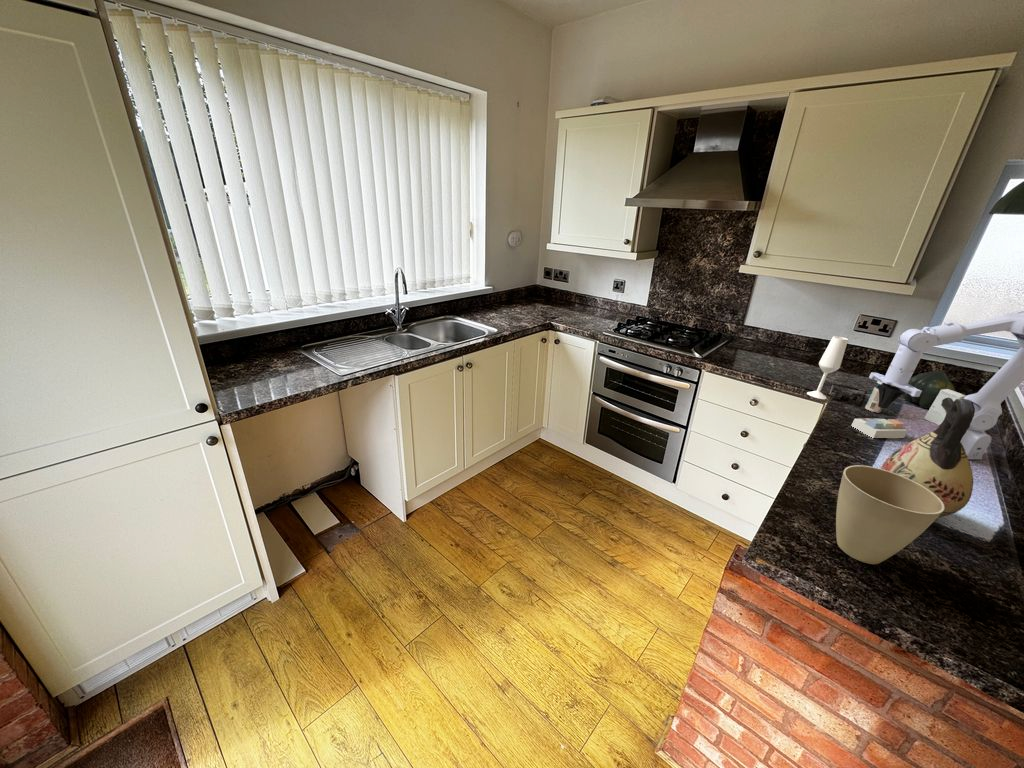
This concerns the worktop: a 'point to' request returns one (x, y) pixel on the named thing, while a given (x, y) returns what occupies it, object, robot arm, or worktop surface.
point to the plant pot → (881, 513)
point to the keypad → (878, 430)
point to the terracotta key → (896, 423)
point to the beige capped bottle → (874, 400)
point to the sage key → (886, 423)
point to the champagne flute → (830, 361)
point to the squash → (928, 387)
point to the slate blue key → (874, 423)
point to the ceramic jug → (940, 458)
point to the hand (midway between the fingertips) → (882, 407)
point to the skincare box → (936, 410)
